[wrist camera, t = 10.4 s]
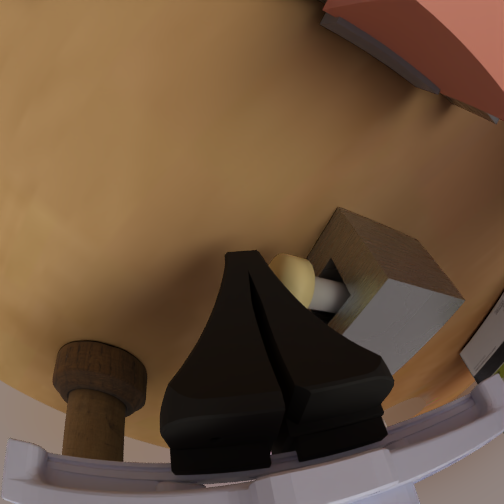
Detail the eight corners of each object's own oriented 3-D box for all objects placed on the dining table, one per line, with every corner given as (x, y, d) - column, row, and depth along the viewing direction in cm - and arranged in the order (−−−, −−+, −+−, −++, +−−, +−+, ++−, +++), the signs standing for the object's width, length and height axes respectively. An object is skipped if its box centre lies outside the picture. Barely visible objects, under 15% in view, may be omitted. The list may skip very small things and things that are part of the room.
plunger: (373, 267, 15) (396, 304, 13) (345, 303, 16) (363, 341, 14) (283, 240, 13) (299, 283, 11) (257, 285, 14) (267, 330, 12)
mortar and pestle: (59, 376, 20) (49, 593, 5) (57, 328, 16) (34, 614, 2) (139, 395, 22) (152, 608, 8) (155, 353, 19) (176, 633, 5)
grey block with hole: (417, 239, 16) (465, 300, 12) (361, 312, 19) (391, 375, 15) (338, 206, 14) (388, 278, 10) (281, 297, 17) (305, 374, 13)
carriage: (457, 19, 9) (568, 43, 4) (422, 92, 11) (531, 144, 6) (352, -63, 6) (458, -103, 2) (307, 18, 9) (407, 5, 4)
